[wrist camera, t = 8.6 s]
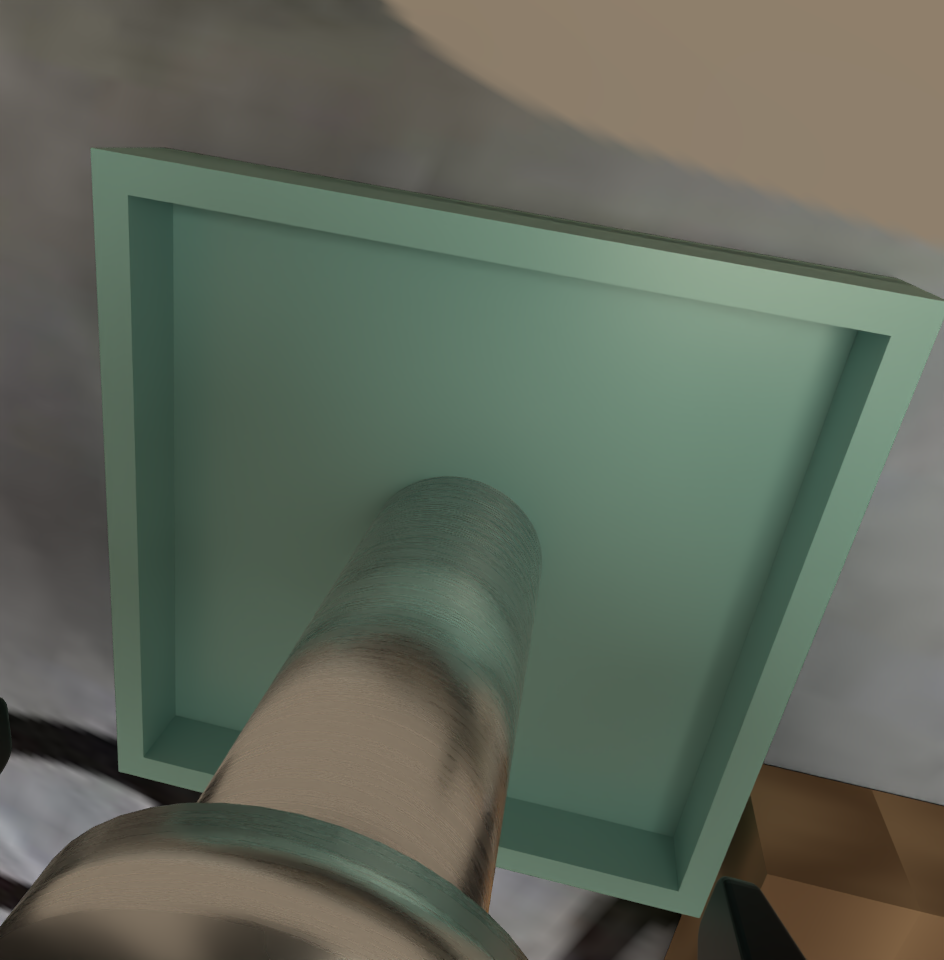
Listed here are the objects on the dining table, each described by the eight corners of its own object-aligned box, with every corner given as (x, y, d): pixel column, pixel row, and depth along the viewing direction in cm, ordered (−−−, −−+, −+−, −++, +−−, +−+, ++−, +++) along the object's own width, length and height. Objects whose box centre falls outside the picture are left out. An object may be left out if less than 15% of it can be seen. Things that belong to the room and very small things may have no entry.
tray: (898, 278, 13) (950, 302, 11) (689, 834, 18) (699, 918, 16) (164, 147, 14) (90, 147, 12) (169, 707, 19) (118, 771, 17)
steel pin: (613, 465, 14) (624, 1025, 5) (557, 690, 16) (493, 1364, 7) (339, 409, 15) (-95, 834, 6) (319, 635, 17) (-18, 1208, 8)
